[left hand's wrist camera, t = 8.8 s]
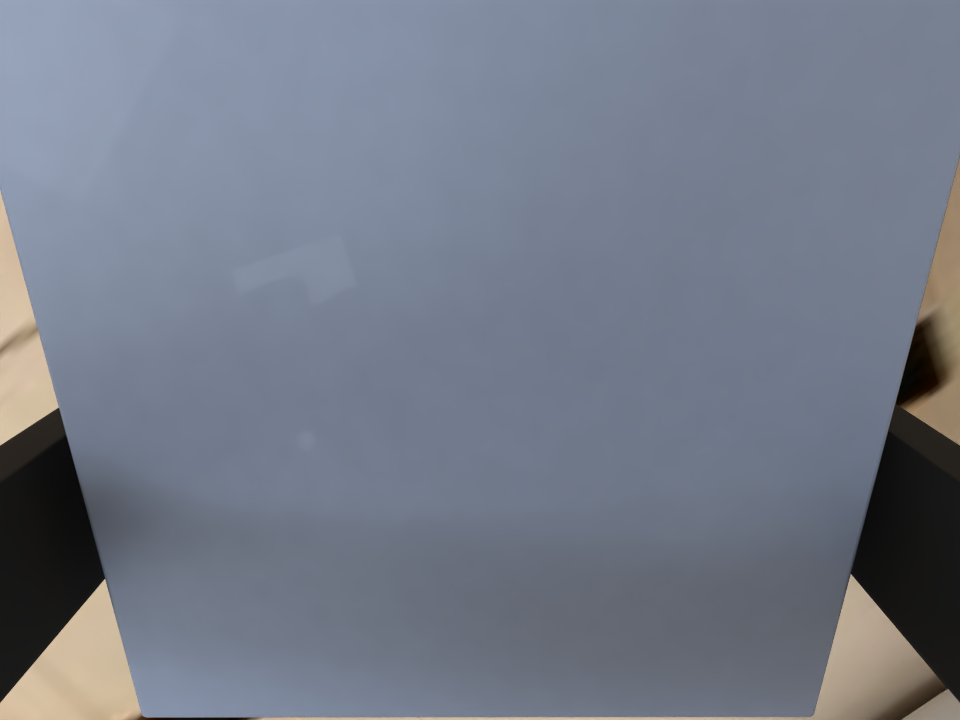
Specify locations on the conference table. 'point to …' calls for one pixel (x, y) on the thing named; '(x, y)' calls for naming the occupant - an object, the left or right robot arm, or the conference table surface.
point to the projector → (938, 708)
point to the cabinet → (477, 335)
